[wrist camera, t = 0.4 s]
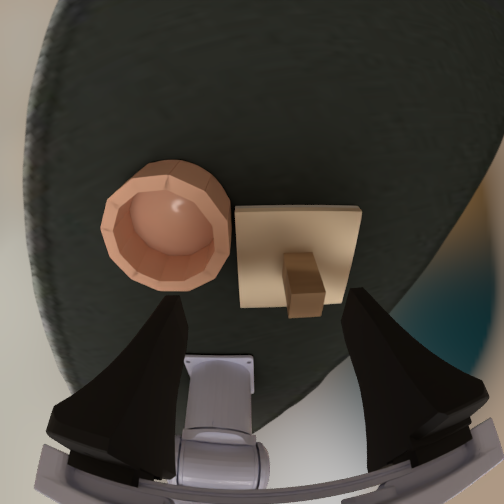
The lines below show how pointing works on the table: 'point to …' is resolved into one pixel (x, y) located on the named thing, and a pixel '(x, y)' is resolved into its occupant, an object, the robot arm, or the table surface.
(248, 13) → the table surface
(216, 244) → the bowl
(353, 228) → the board
